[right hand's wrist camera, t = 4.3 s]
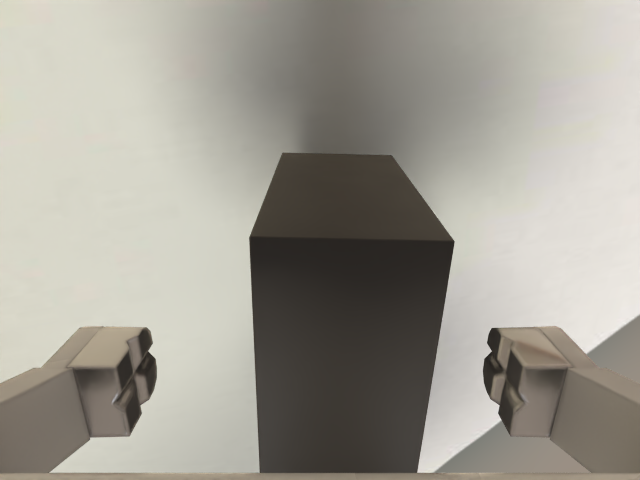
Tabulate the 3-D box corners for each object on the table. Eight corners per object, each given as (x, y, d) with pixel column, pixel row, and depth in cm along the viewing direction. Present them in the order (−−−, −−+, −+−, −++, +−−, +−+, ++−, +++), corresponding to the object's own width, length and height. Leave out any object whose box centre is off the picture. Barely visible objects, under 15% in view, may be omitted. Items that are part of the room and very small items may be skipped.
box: (282, 152, 24) (249, 236, 13) (391, 155, 24) (455, 241, 13) (285, 441, 33) (267, 642, 22) (365, 443, 33) (389, 643, 22)
